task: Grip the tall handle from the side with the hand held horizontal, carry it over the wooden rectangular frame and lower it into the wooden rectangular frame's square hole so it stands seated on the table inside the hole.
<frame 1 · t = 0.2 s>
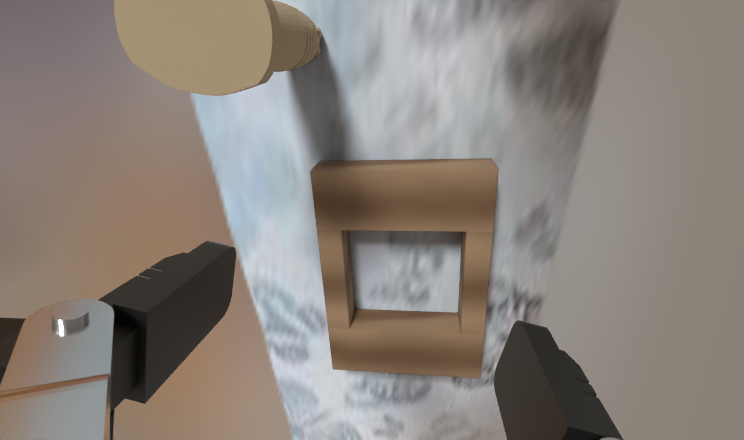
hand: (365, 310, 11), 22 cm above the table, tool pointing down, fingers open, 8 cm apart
wooden rectangular frame: (404, 266, 35), on the table
handle: (303, 40, 29), on the table
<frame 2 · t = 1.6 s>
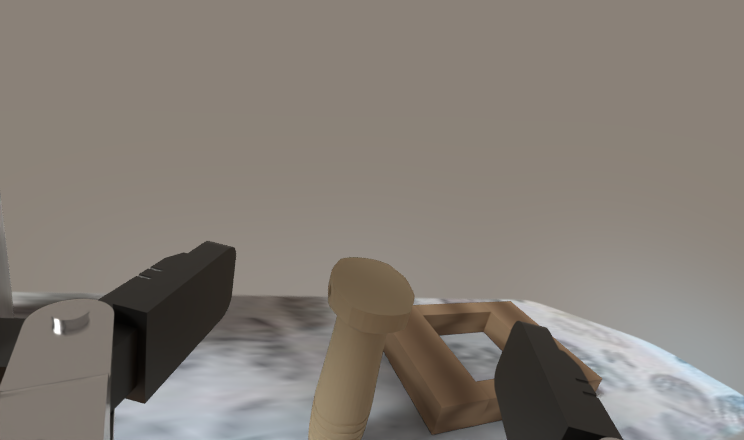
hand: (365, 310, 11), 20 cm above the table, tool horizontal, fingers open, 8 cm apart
wooden rectangular frame: (476, 363, 42), on the table
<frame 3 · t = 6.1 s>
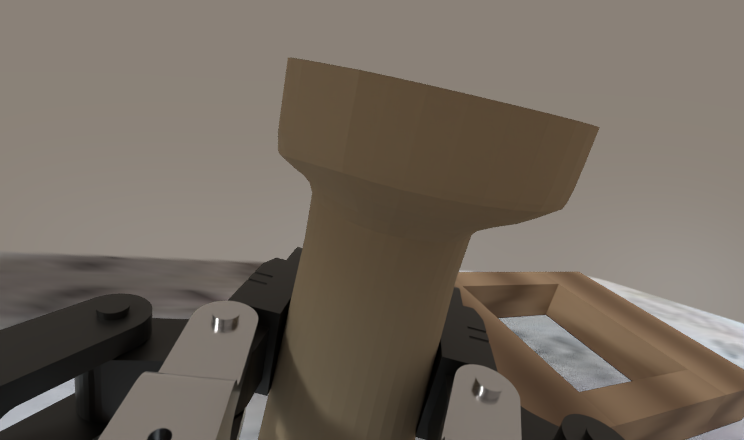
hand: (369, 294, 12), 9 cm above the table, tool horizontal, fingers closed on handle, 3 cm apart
wooden rectangular frame: (550, 360, 26), on the table
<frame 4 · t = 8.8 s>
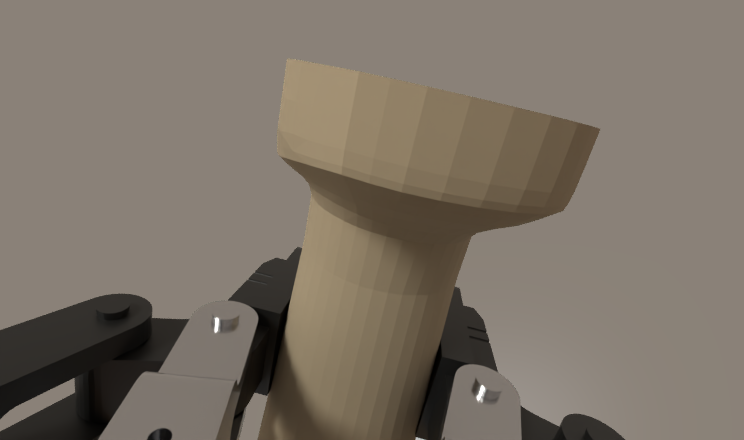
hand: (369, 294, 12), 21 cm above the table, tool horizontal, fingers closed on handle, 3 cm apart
when the fingers open (10 cm above the table, at t = 11.6 s): handle drops 1 cm, resting in wooden rectangular frame.
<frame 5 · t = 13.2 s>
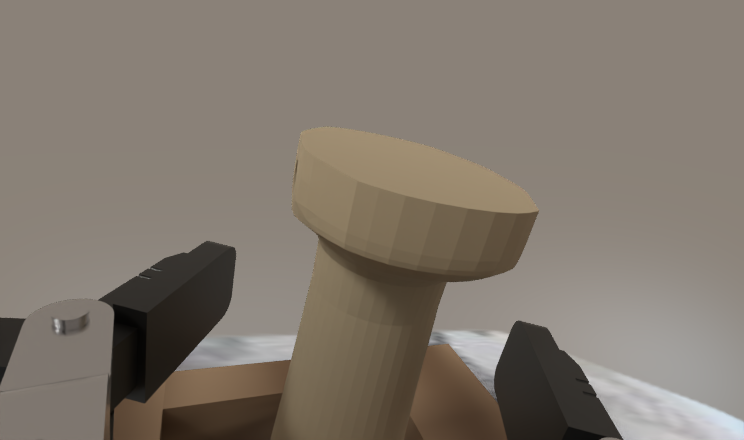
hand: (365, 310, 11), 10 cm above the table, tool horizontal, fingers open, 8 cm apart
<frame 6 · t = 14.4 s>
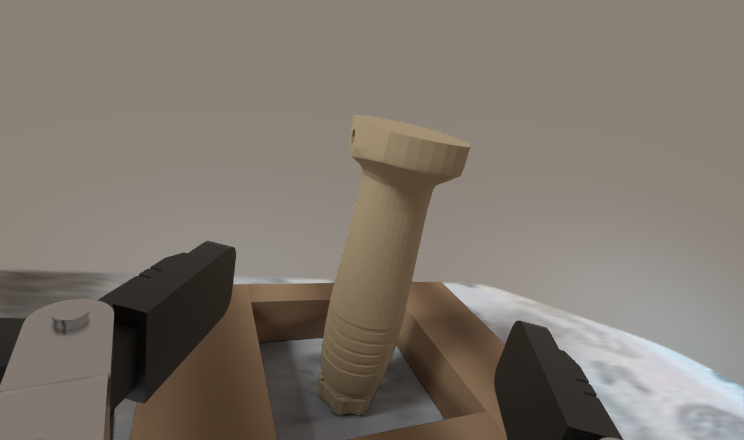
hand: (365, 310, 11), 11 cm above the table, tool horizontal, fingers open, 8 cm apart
wooden rectangular frame: (346, 394, 22), on the table
handle: (344, 399, 22), resting in wooden rectangular frame
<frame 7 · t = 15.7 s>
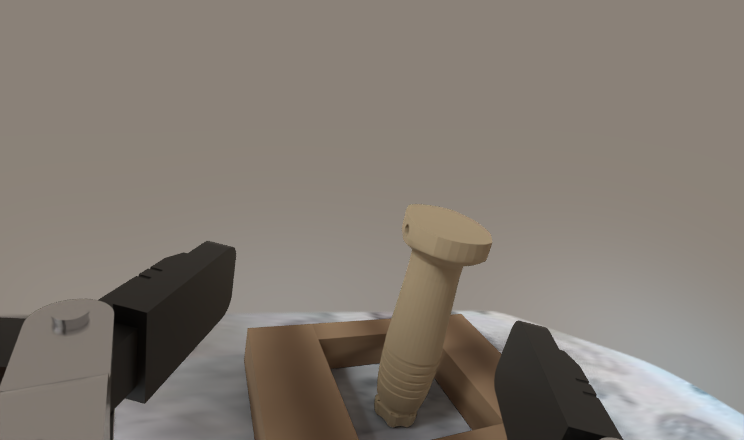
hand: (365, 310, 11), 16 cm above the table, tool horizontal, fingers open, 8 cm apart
wooden rectangular frame: (395, 410, 28), on the table
handle: (394, 414, 28), resting in wooden rectangular frame
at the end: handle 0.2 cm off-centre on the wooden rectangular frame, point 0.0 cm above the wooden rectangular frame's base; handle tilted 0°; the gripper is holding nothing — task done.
